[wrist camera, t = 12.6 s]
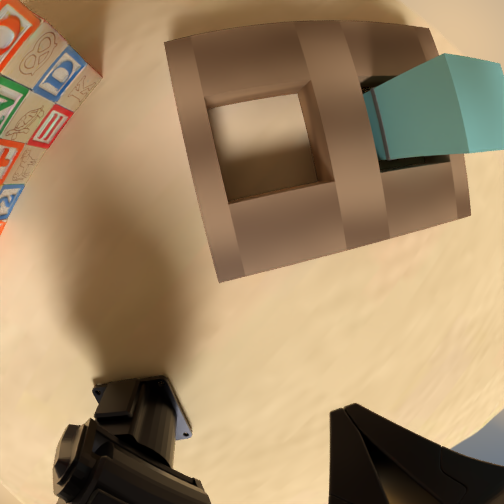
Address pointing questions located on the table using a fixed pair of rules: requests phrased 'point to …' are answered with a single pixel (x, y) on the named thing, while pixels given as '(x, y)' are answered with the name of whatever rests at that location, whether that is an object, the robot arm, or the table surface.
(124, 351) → the table surface
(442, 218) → the walnut board
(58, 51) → the stack of blocks
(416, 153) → the teal peg
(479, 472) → the robot arm
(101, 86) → the table surface
